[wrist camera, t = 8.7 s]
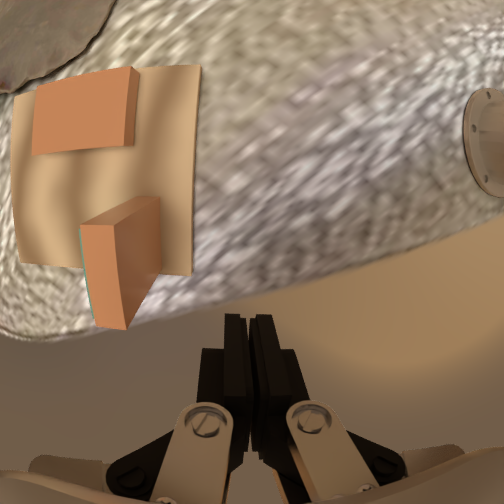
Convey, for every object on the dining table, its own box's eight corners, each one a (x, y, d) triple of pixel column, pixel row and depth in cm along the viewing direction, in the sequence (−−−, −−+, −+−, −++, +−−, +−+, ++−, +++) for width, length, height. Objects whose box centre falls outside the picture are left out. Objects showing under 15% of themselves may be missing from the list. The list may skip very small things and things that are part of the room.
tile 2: (160, 196, 21) (113, 225, 13) (161, 268, 23) (126, 330, 14) (133, 196, 21) (75, 224, 12) (136, 267, 23) (91, 325, 14)
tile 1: (130, 66, 15) (37, 86, 15) (123, 145, 17) (31, 155, 17) (140, 73, 18) (51, 89, 17) (134, 146, 20) (46, 154, 19)
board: (202, 68, 19) (200, 64, 18) (193, 271, 24) (191, 276, 23) (20, 97, 17) (14, 96, 16) (25, 259, 23) (20, 262, 22)
